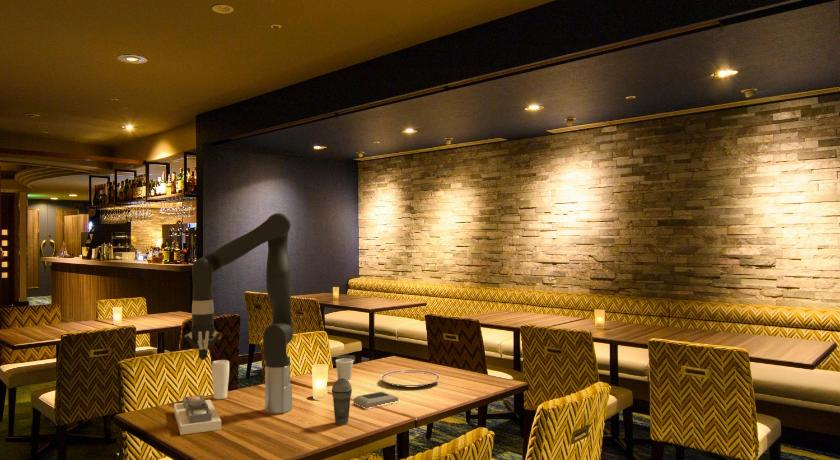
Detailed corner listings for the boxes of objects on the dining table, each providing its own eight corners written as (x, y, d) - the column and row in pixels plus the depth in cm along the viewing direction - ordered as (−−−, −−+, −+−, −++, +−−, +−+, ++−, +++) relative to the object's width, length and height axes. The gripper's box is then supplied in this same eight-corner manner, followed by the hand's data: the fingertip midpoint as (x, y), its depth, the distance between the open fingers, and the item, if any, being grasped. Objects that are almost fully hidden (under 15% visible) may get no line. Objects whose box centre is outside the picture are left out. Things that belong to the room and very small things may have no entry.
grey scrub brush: (398, 394, 235) (366, 400, 226) (398, 404, 235) (366, 410, 226) (385, 390, 243) (353, 395, 234) (385, 399, 243) (353, 405, 234)
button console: (174, 411, 222) (174, 397, 223) (210, 407, 228) (210, 393, 228) (180, 435, 196) (180, 418, 196) (221, 429, 201) (221, 413, 201)
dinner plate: (441, 391, 255) (441, 383, 256) (378, 390, 256) (378, 382, 256) (439, 376, 283) (439, 369, 283) (383, 376, 283) (383, 369, 283)
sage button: (191, 417, 204) (191, 410, 204) (205, 416, 206) (205, 409, 206) (193, 421, 200) (193, 414, 200) (207, 419, 202) (207, 412, 202)
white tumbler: (223, 400, 238) (224, 363, 238) (208, 399, 239) (208, 362, 240) (232, 396, 245) (232, 360, 245) (217, 395, 246) (217, 359, 246)
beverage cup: (343, 427, 204) (343, 369, 204) (327, 423, 208) (327, 367, 208) (356, 422, 210) (356, 365, 211) (340, 418, 214) (340, 363, 214)
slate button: (189, 406, 213) (189, 399, 213) (202, 405, 215) (202, 398, 215) (190, 410, 209) (190, 403, 209) (204, 408, 211) (204, 401, 211)
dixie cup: (346, 379, 276) (346, 357, 276) (357, 382, 270) (357, 360, 270) (331, 381, 271) (331, 360, 271) (342, 385, 264) (342, 362, 265)
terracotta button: (186, 403, 222) (186, 397, 222) (199, 402, 224) (199, 395, 224) (187, 406, 218) (187, 399, 218) (200, 405, 220) (201, 398, 220)
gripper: (219, 310, 224) (219, 355, 223) (182, 312, 217) (182, 359, 217) (223, 312, 217) (223, 359, 217) (185, 314, 211) (185, 363, 210)
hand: (202, 359), depth 217 cm, fingers closed
